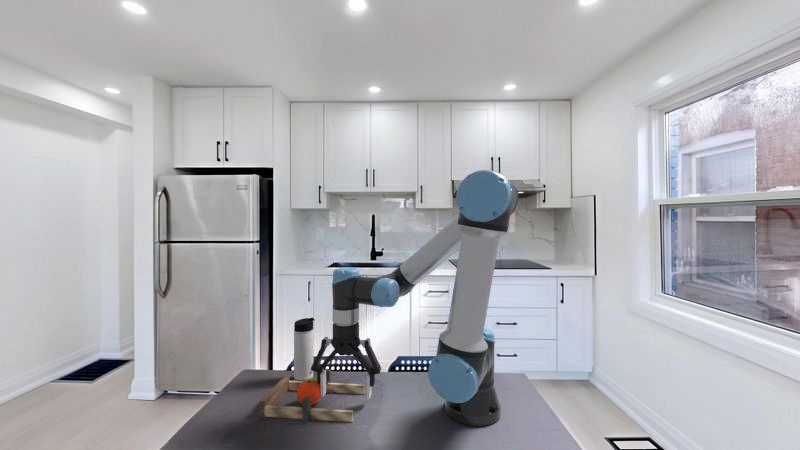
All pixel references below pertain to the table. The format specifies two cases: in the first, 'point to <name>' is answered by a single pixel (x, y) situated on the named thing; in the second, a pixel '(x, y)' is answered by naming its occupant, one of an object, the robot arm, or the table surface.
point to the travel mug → (303, 349)
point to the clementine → (309, 390)
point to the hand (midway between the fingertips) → (346, 395)
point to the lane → (307, 402)
